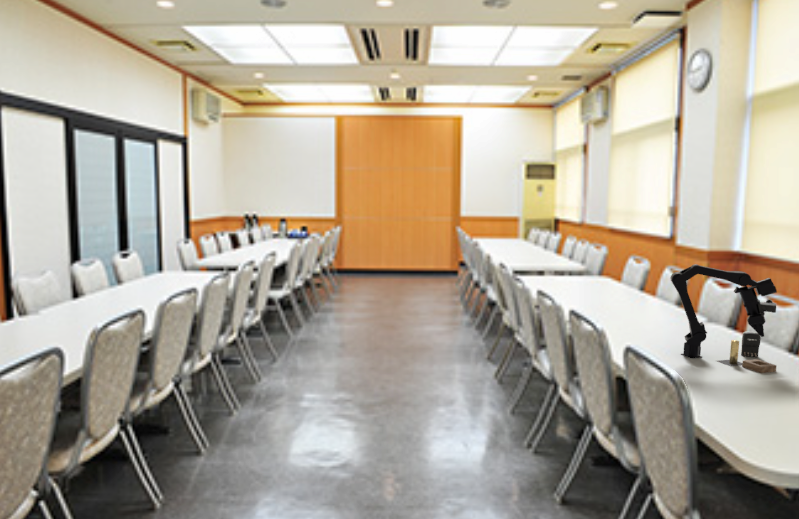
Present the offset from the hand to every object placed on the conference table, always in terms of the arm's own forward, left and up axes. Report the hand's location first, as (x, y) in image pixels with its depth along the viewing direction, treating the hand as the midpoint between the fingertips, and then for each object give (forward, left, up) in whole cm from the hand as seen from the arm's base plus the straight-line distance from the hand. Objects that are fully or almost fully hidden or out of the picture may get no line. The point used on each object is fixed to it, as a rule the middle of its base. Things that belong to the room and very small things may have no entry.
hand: (762, 333), depth 246 cm
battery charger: (+5, +9, -14) cm, 17 cm away
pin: (-12, +2, -13) cm, 18 cm away
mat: (-12, +3, -13) cm, 19 cm away
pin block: (-8, -7, -13) cm, 17 cm away
